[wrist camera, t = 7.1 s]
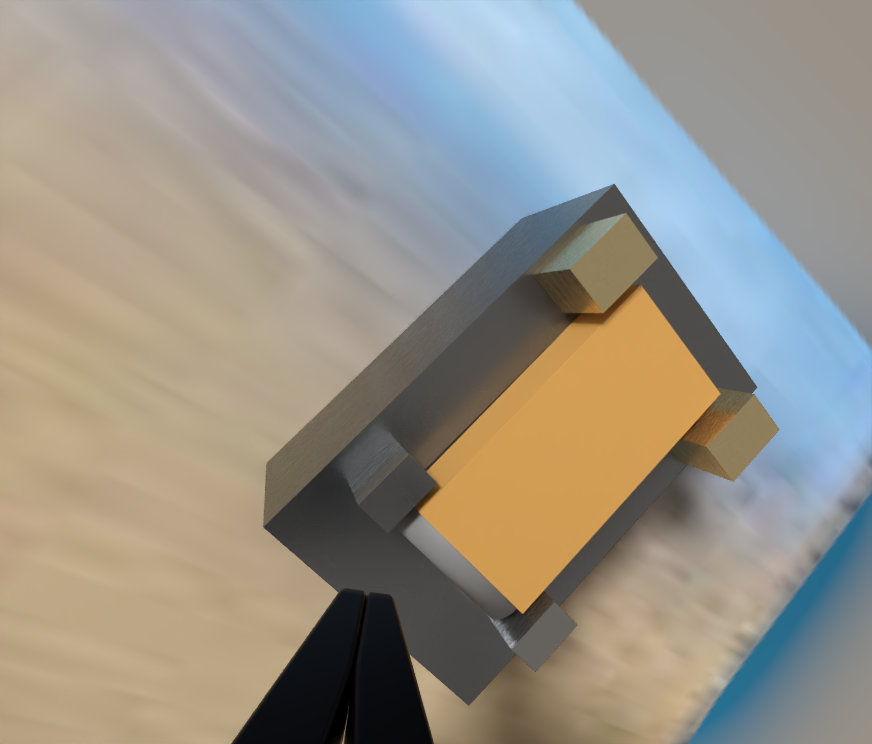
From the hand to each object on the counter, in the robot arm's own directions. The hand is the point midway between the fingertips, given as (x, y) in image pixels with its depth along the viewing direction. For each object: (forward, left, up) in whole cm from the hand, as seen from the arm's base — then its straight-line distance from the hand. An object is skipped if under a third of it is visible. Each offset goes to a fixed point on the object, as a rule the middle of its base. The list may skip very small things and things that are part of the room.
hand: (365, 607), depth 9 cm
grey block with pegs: (+3, -5, -11) cm, 13 cm away
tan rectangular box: (+4, -5, -5) cm, 8 cm away
